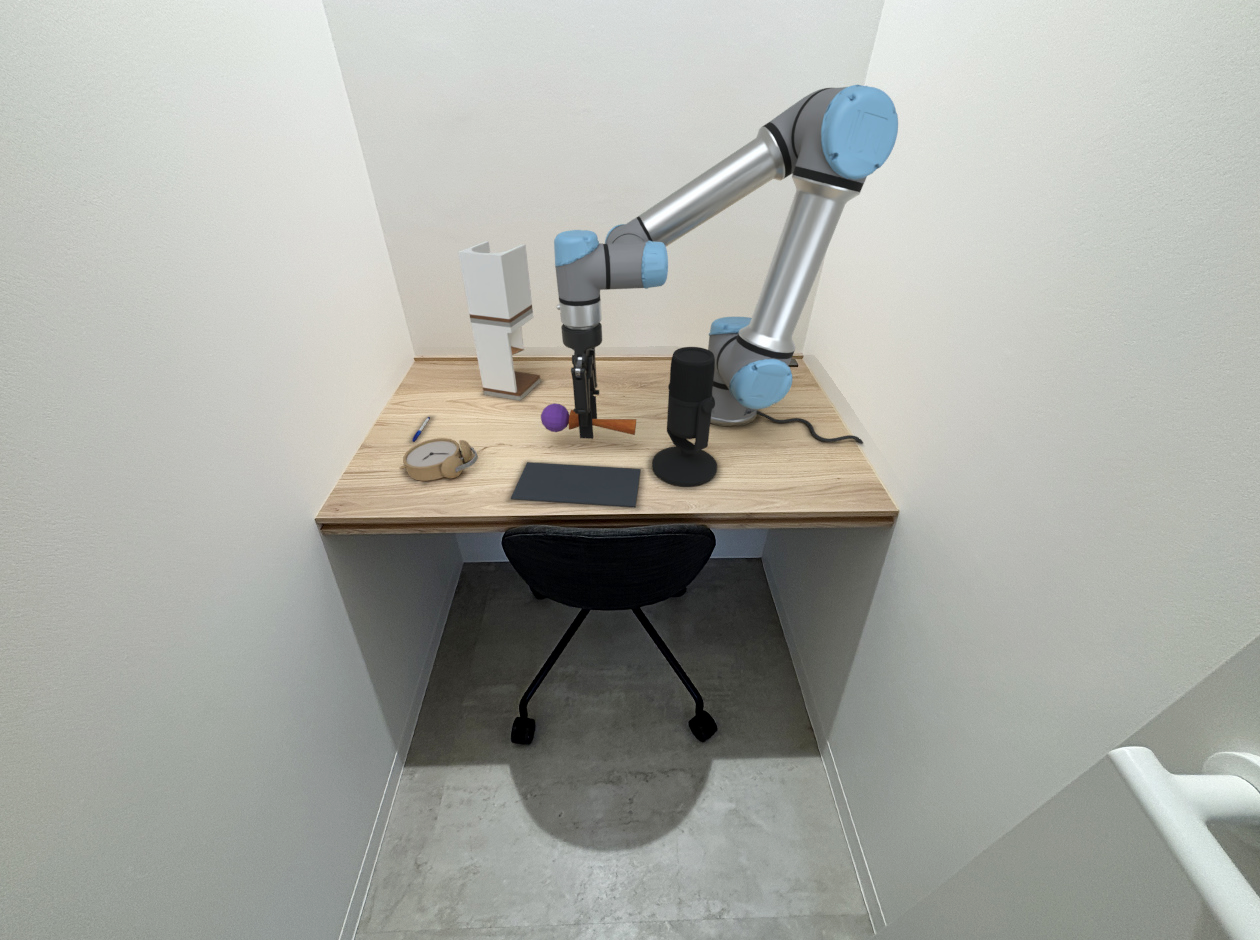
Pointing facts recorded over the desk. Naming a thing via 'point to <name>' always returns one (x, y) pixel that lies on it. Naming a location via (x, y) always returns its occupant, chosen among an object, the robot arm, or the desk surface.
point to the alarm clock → (438, 459)
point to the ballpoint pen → (420, 430)
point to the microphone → (688, 420)
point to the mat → (578, 484)
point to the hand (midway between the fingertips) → (588, 430)
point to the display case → (498, 315)
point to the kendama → (559, 418)
